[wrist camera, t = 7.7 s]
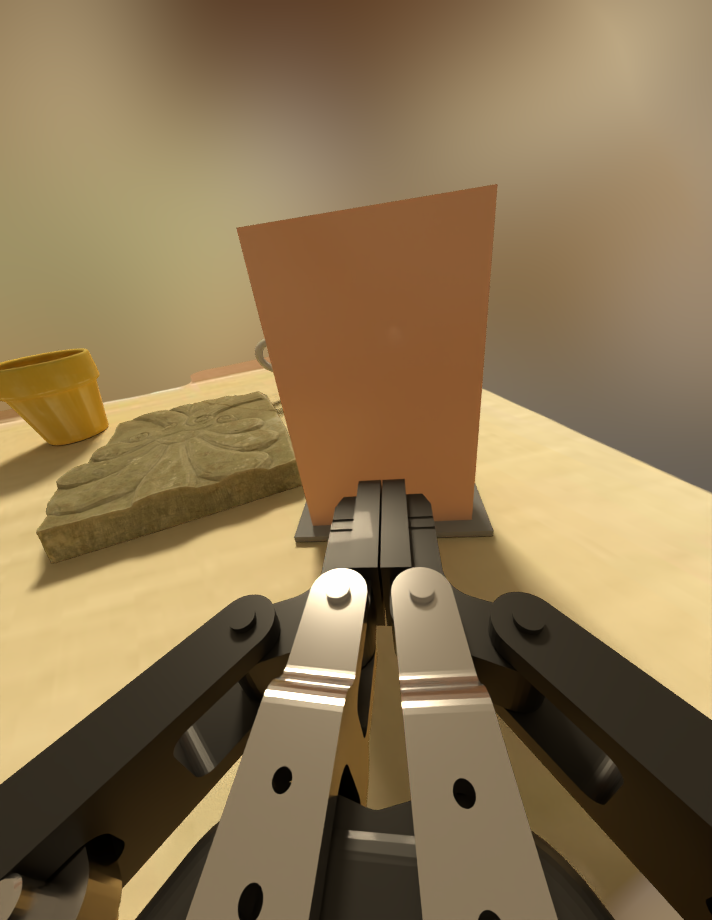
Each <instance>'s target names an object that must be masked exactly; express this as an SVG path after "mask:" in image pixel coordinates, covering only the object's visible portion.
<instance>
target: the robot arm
mask: <svg viewBox="0 0 712 920" xmlns="http://www.w3.org/2000/svg"><path fill="white" fill-rule="evenodd" d="M385 610H386V618H387V626H392V631H393V640H394V649H395V653H396V655H397V658H398V668H399V678H400V689H401V700H402V711H403V721H404V731H405V742H406V752H407V762H408V773H409V783H410V793H411V801H408V802H405V803H402V804H398V805H395V806H392V807H388V808H385V809H381V810H372V809H369V808H367V797H368V785H369V740H370V729H371V718H372V708H373V698H374V688H375V678H376V667H377V655H378V653H377V647H376V625H377V626H385ZM495 712H496V713H497V714H498V715H499V716H500V717H501V718H502V719H503V721H504V722H505V723H506V724H507V725H508V726H509V727H510V728H511V729H512V730H513V732H514V733H515V734H516V735H517V736H518V737H519V738H520V739H521V740H522V741H523V743H524V744H525V745H526V746H527V747H528V748H529V749H530V750H531V751H532V753H533V754H534V755H535V756H536V757H537V758H538V759H539V760H540V761H541V762H542V764H543V765H544V766H545V767H546V768H547V769H548V770H549V771H550V772H551V773H552V775H553V776H554V777H555V778H556V779H557V780H558V781H559V782H560V783H561V784H562V786H563V787H564V788H565V789H566V790H567V791H568V792H569V793H570V794H571V795H572V797H573V798H574V799H575V800H576V801H577V802H578V803H579V804H580V805H581V807H582V808H583V809H584V810H585V811H586V812H587V813H588V814H589V815H590V816H591V818H592V819H593V820H594V821H595V822H596V823H597V824H598V825H599V826H600V827H601V829H602V830H603V831H604V832H605V833H606V834H607V835H608V836H609V837H610V838H611V840H612V841H613V842H614V843H615V844H616V845H617V846H618V847H619V848H620V850H621V851H622V852H623V853H624V854H625V855H626V856H627V857H628V858H629V859H630V861H631V862H632V863H633V864H634V865H635V866H636V867H637V868H638V869H639V870H640V872H641V873H642V874H643V875H644V876H645V877H646V878H647V879H648V880H649V881H650V883H651V884H652V885H653V886H654V887H655V888H656V889H657V890H658V891H659V893H660V894H661V895H662V896H663V897H664V898H665V899H666V900H667V901H668V902H669V904H670V905H671V906H672V907H673V908H674V909H675V910H676V911H677V912H678V913H679V915H680V916H681V917H682V918H683V919H684V920H712V720H711V719H709V718H708V717H707V716H705V715H704V714H702V713H701V712H700V711H698V710H697V709H695V708H694V707H693V706H691V705H690V704H688V703H687V702H686V701H684V700H683V699H681V698H680V697H679V696H677V695H676V694H674V693H673V692H672V691H670V690H669V689H667V688H666V687H665V686H663V685H662V684H660V683H659V682H658V681H656V680H655V679H654V678H652V677H651V676H649V675H648V674H647V673H645V672H644V671H642V670H641V669H640V668H638V667H637V666H635V665H634V664H633V663H631V662H630V661H628V660H627V659H626V658H624V657H623V656H621V655H620V654H619V653H617V652H616V651H614V650H613V649H612V648H610V647H609V646H607V645H606V644H605V643H603V642H602V641H600V640H599V639H598V638H596V637H595V636H593V635H592V634H591V633H589V632H588V631H586V630H585V629H584V628H582V627H581V626H579V625H578V624H577V623H575V622H574V621H572V620H571V619H570V618H568V617H567V616H565V615H564V614H563V613H561V612H560V611H558V610H557V609H556V608H554V607H553V606H551V605H550V604H549V603H547V602H546V601H544V600H543V599H541V598H539V597H537V596H534V595H531V594H528V593H523V592H510V593H506V594H503V595H501V596H500V597H498V598H497V599H496V600H495V601H494V603H492V602H489V601H485V600H482V599H478V598H475V597H471V596H469V595H466V594H464V593H462V592H460V591H459V590H457V589H456V588H455V587H453V586H452V585H451V584H450V583H449V582H448V580H447V579H446V577H445V575H444V573H443V570H442V565H441V559H440V553H439V547H438V542H437V536H436V530H435V524H434V519H433V513H432V507H431V503H430V502H429V501H428V500H427V498H426V497H425V496H424V495H423V494H422V493H421V494H406V489H405V479H388V480H382V483H381V480H367V481H359V482H358V489H357V496H353V497H343V498H342V500H341V501H340V502H339V503H338V505H337V506H336V507H335V511H334V515H333V522H332V525H331V532H330V534H329V539H328V544H327V549H326V554H325V558H324V563H323V568H322V572H321V575H320V577H319V578H318V579H317V580H316V581H315V582H314V584H313V585H312V587H311V588H310V589H309V590H308V591H306V592H305V593H303V594H301V595H299V596H297V597H294V598H291V599H288V600H284V601H281V602H278V603H275V604H272V602H271V601H270V600H269V599H268V598H266V597H264V596H261V595H248V596H244V597H241V598H239V599H237V600H235V601H233V602H232V603H230V604H229V605H228V606H227V607H225V608H224V609H223V610H221V611H220V612H219V613H218V614H216V615H215V616H214V617H213V618H211V619H210V620H209V621H207V622H206V623H205V624H204V625H202V626H201V627H200V628H199V629H197V630H196V631H195V632H194V633H192V634H191V635H190V636H188V637H187V638H186V639H185V640H183V641H182V642H181V643H180V644H178V645H177V646H176V647H174V648H173V649H172V650H171V651H169V652H168V653H167V654H166V655H164V656H163V657H162V658H160V659H159V660H158V661H157V662H155V663H154V664H153V665H152V666H150V667H149V668H148V669H147V670H145V671H144V672H143V673H141V674H140V675H139V676H138V677H136V678H135V679H134V680H133V681H131V682H130V683H129V684H127V685H126V686H125V687H124V688H122V689H121V690H120V691H119V692H117V693H116V694H115V695H114V696H112V697H111V698H110V699H108V700H107V701H106V702H105V703H103V704H102V705H101V706H100V707H98V708H97V709H96V710H94V711H93V712H92V713H91V714H89V715H88V716H87V717H86V718H84V719H83V720H82V721H80V722H79V723H78V724H77V725H75V726H74V727H73V728H72V729H70V730H69V731H68V732H67V733H65V734H64V735H63V736H61V737H60V738H59V739H58V740H56V741H55V742H54V743H53V744H51V745H50V746H49V747H47V748H46V749H45V750H44V751H42V752H41V753H40V754H39V755H37V756H36V757H35V758H33V759H32V760H31V761H30V762H28V763H27V764H26V765H25V766H23V767H22V768H21V769H20V770H18V771H17V772H16V773H14V774H13V775H12V776H11V777H9V778H8V779H7V780H6V781H4V782H3V783H2V784H0V920H118V917H119V911H118V910H119V906H120V901H121V894H122V888H123V887H124V886H125V885H126V884H127V883H128V882H129V880H130V879H131V878H132V877H133V876H134V875H135V874H136V873H137V872H138V870H139V869H140V868H141V867H142V866H143V865H144V864H145V863H146V861H147V860H148V859H149V858H150V857H151V856H152V855H153V854H154V853H155V851H156V850H157V849H158V848H159V847H160V846H161V845H162V844H163V843H164V841H165V840H166V839H167V838H168V837H169V836H170V835H171V834H172V833H173V831H174V830H175V829H176V828H177V827H178V826H179V825H180V824H181V823H182V821H183V820H184V819H185V818H186V817H187V816H188V815H189V814H190V812H191V811H192V810H193V809H194V808H195V807H196V806H197V805H198V804H199V802H200V801H201V800H202V799H203V798H204V797H205V796H206V795H207V794H208V792H209V791H210V790H211V789H212V788H213V787H214V786H215V785H216V784H217V782H218V781H219V780H220V779H221V778H222V777H223V776H224V775H225V773H226V772H227V771H228V770H229V769H230V768H231V767H232V766H233V765H234V763H235V762H236V761H237V760H238V759H239V758H240V757H241V756H242V755H243V756H242V759H241V762H240V765H239V767H238V770H237V773H236V776H235V779H234V782H233V785H232V788H231V791H230V793H229V796H228V799H227V802H226V805H225V808H224V811H223V814H222V816H221V819H220V821H219V822H218V823H217V824H216V825H214V826H213V827H212V828H211V829H210V830H209V831H208V832H207V833H206V834H205V835H204V836H203V837H202V838H201V839H200V840H199V841H198V842H197V844H196V845H195V846H194V847H193V848H192V850H191V851H190V852H189V853H188V854H187V856H186V857H185V858H184V859H183V861H182V862H181V863H180V864H179V866H178V867H177V868H176V869H175V871H174V872H173V873H172V874H171V876H170V877H169V878H168V879H167V881H166V882H165V883H164V884H163V885H162V887H161V888H160V889H159V890H158V892H157V893H156V894H155V895H154V897H153V898H152V899H151V900H150V902H149V903H148V904H147V905H146V907H145V908H144V909H143V910H142V912H141V913H140V914H139V915H138V917H137V918H136V919H135V920H615V919H614V918H613V917H612V915H611V914H610V913H609V911H608V910H607V909H606V907H605V906H604V905H603V904H602V902H601V901H600V900H599V898H598V897H597V896H596V894H595V893H594V892H593V891H592V889H591V888H590V887H589V886H588V884H587V883H586V882H585V881H584V879H583V878H582V877H581V876H580V875H579V874H578V873H577V872H576V871H575V869H574V868H573V867H572V866H571V865H570V864H569V863H568V862H567V861H566V860H565V859H564V858H563V857H562V856H561V855H560V854H559V853H558V852H557V851H556V850H555V849H554V848H553V847H551V846H550V845H549V844H548V843H547V842H546V841H544V840H543V839H542V838H540V837H539V836H538V835H537V834H535V833H534V832H533V831H531V829H530V826H529V823H528V819H527V816H526V813H525V809H524V806H523V803H522V799H521V796H520V793H519V789H518V786H517V783H516V779H515V776H514V773H513V770H512V766H511V763H510V760H509V756H508V753H507V750H506V746H505V743H504V740H503V736H502V733H501V730H500V726H499V723H498V720H497V716H496V713H495Z"/></svg>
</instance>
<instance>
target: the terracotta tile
mask: <svg viewBox="0 0 712 920" xmlns="http://www.w3.org/2000/svg"><path fill="white" fill-rule="evenodd" d="M496 197H497V184H495V185H489V186H483V187H477V188H471V189H465V190H459V191H453V192H448V193H441V194H435V195H429V196H423V197H418V198H411V199H405V200H400V201H393V202H388V203H382V204H376V205H370V206H364V207H358V208H353V209H346V210H340V211H334V212H328V213H323V214H316V215H310V216H304V217H298V218H292V219H286V220H280V221H275V222H268V223H263V224H257V225H250V226H244V227H239V228H237V232H238V236H239V240H240V243H241V248H242V252H243V255H244V259H245V263H246V267H247V271H248V274H249V279H250V283H251V287H252V291H253V294H254V298H255V302H256V306H257V310H258V314H259V318H260V322H261V326H262V330H263V334H264V337H265V341H266V345H267V349H268V353H269V357H270V361H271V365H272V369H273V373H274V376H275V380H276V384H277V388H278V392H279V396H280V400H281V404H282V408H283V412H284V415H285V419H286V423H287V427H288V431H289V435H290V439H291V443H292V447H293V451H294V455H295V458H296V462H297V466H298V470H299V474H300V478H301V482H302V486H303V490H304V494H305V497H306V501H307V505H308V509H309V513H310V517H311V521H312V525H313V526H320V525H332V522H333V515H334V511H335V507H336V506H337V505H338V503H339V502H340V501H341V500H342V498H343V497H353V496H357V489H358V482H359V481H367V480H381V483H382V480H388V479H405V489H406V494H421V493H422V494H423V495H424V496H425V497H426V498H427V500H428V501H429V502H430V503H431V507H432V513H433V519H434V521H453V520H472V511H473V498H474V485H475V472H476V459H477V446H478V433H479V420H480V407H481V394H482V380H483V367H484V354H485V340H486V328H487V315H488V302H489V289H490V276H491V263H492V262H491V261H492V250H493V237H494V223H495V209H496Z"/></svg>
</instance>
